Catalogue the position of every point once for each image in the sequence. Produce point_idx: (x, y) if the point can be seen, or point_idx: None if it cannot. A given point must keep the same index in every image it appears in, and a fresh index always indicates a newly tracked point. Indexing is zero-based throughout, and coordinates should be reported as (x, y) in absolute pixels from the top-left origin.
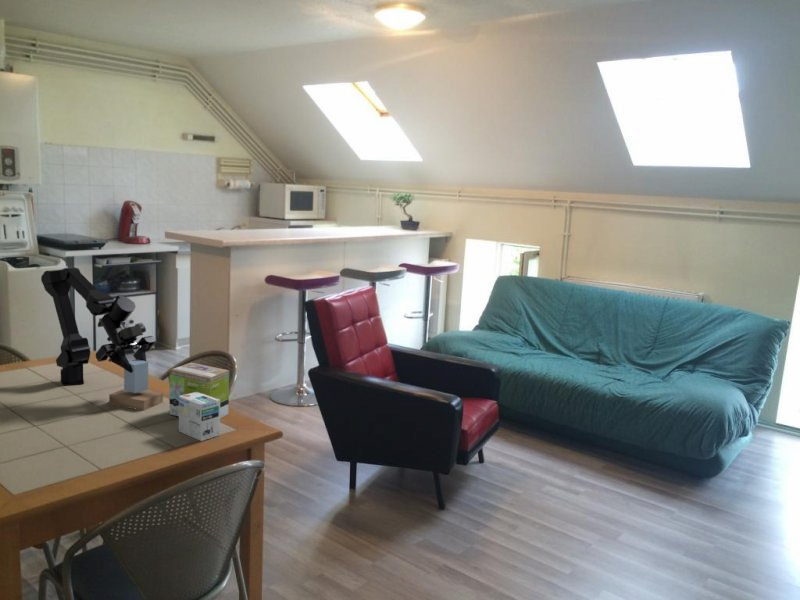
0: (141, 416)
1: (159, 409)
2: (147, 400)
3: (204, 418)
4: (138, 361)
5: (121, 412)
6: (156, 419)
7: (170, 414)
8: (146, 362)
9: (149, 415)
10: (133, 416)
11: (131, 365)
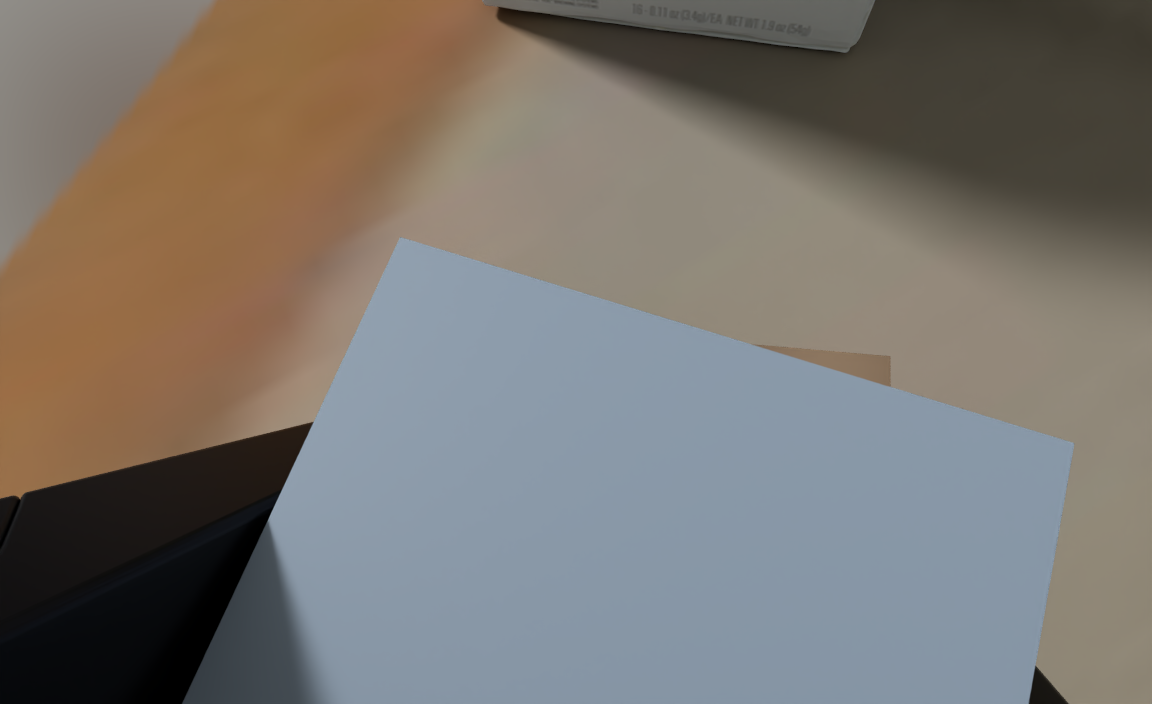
0: (1058, 311)
1: (723, 256)
2: (801, 354)
3: None
4: (457, 654)
5: (1077, 656)
6: (1047, 107)
7: (849, 42)
8: (472, 265)
9: (974, 245)
10: (1115, 402)
11: (1018, 661)
